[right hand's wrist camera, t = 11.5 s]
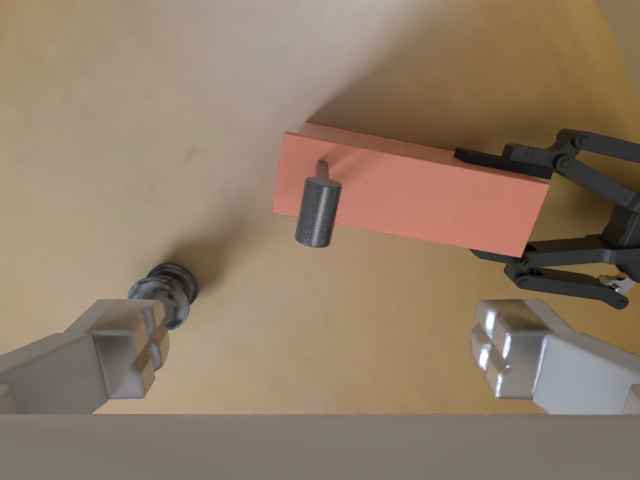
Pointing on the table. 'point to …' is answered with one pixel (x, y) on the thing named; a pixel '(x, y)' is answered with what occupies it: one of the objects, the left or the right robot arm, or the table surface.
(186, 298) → the salt shaker
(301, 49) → the table surface
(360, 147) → the lid
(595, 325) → the table surface
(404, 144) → the chest
